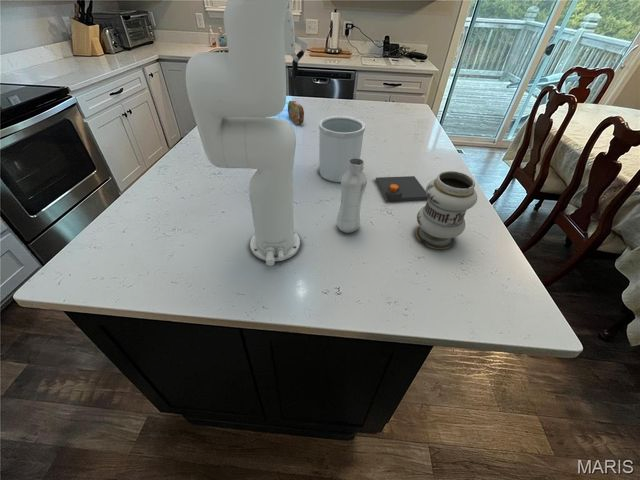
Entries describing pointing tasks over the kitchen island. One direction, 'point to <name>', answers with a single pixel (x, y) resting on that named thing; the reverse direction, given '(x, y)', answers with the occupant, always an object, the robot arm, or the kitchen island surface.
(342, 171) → the utensil holder
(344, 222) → the plastic bottle
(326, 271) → the kitchen island surface
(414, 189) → the scale
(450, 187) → the apothecary jar
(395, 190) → the tare button
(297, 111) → the mottled brown slab
